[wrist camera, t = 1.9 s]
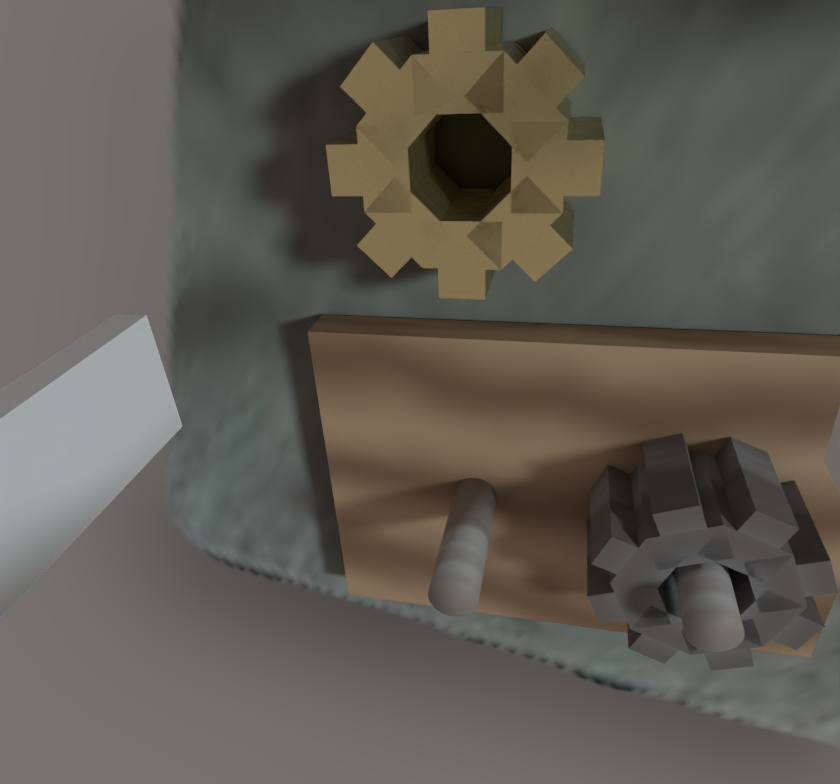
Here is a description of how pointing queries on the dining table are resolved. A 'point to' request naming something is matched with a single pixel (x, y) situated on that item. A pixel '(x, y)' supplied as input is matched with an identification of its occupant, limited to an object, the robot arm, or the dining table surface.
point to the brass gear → (431, 186)
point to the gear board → (588, 476)
